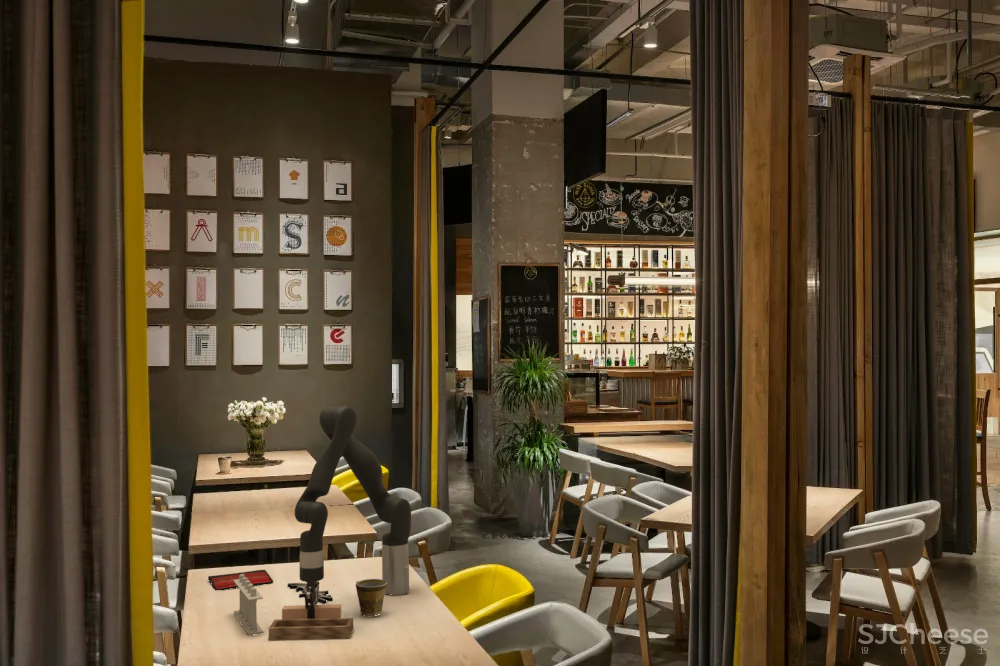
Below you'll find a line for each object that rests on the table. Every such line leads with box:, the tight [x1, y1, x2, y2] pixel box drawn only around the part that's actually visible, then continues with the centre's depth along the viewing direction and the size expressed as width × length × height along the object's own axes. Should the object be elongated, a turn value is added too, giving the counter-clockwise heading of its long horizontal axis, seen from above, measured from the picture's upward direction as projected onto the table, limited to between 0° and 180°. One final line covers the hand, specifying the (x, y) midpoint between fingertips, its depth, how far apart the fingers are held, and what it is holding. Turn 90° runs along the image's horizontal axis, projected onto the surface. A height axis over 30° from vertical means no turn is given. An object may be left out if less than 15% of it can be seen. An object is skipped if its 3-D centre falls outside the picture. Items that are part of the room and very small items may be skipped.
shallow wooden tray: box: [268, 617, 354, 641], centre depth 268 cm, size 24×9×3 cm, turn 92°
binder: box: [207, 569, 274, 591], centre depth 326 cm, size 16×2×21 cm
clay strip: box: [281, 603, 342, 619], centre depth 280 cm, size 18×4×4 cm, turn 93°
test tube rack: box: [233, 574, 264, 636], centre depth 279 cm, size 25×4×13 cm, turn 27°
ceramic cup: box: [355, 578, 387, 617], centre depth 288 cm, size 13×10×10 cm
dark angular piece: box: [287, 582, 334, 605], centre depth 310 cm, size 28×2×10 cm
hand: (312, 618), depth 280 cm, fingers closed on clay strip, 3 cm apart
